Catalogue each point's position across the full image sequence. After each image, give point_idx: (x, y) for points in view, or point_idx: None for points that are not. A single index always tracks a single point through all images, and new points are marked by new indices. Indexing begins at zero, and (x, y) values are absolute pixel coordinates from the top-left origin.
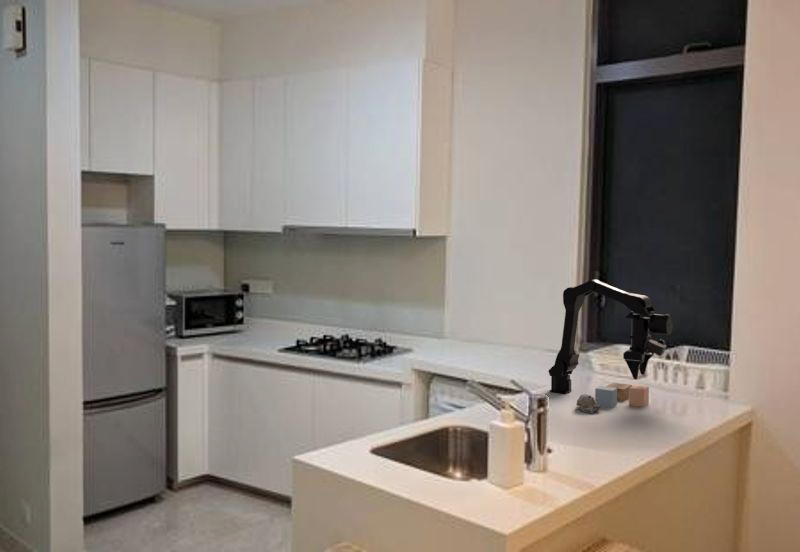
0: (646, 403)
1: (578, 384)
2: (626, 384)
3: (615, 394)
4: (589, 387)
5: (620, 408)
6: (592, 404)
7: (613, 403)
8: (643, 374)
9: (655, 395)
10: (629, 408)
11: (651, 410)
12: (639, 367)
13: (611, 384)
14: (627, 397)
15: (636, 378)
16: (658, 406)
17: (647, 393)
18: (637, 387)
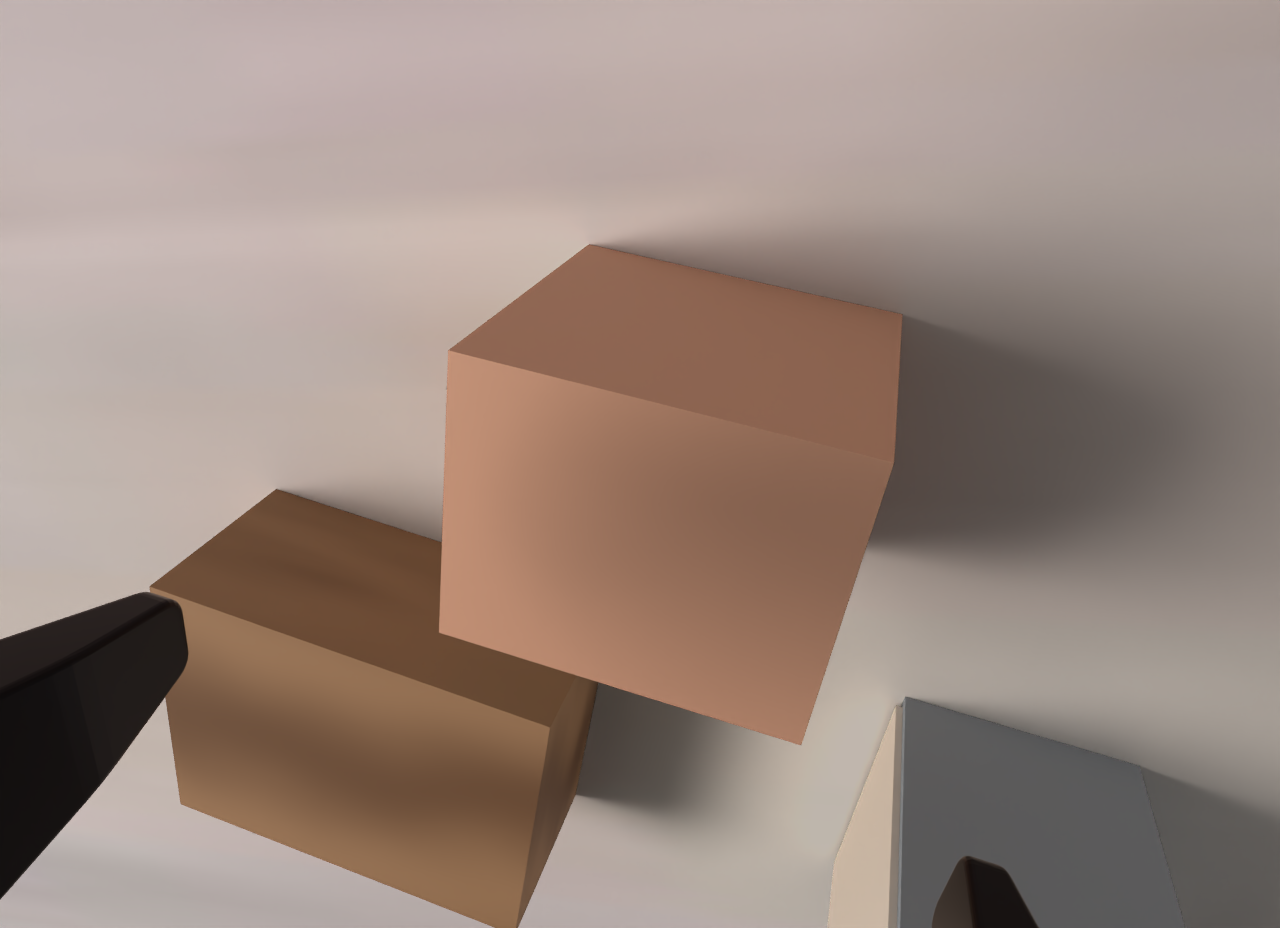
0: (722, 282)
1: (104, 919)
2: None
3: None
4: (150, 857)
5: (1153, 669)
6: None
7: (1097, 797)
8: (177, 617)
9: (3, 161)
10: (1118, 544)
11: (1217, 155)
12: (18, 863)
13: (304, 836)
14: None
15: (1014, 897)
16: (778, 37)
17: (613, 327)
18: (683, 595)
